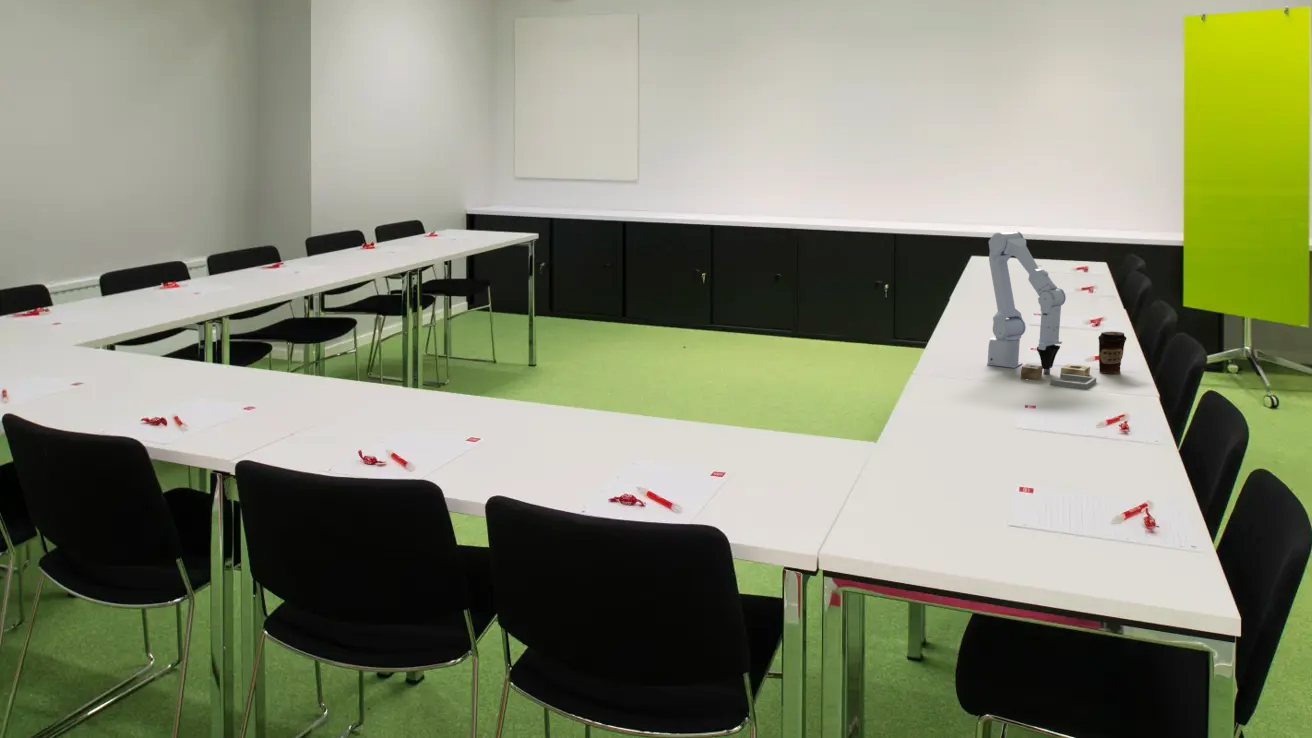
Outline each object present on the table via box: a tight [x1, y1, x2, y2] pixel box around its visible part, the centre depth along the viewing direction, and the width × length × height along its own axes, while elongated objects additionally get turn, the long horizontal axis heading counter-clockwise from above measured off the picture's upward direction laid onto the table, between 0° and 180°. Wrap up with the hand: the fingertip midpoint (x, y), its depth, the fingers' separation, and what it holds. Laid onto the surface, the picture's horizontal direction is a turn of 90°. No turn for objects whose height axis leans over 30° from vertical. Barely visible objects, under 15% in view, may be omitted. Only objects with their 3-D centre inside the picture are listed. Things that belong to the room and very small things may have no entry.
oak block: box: [1060, 363, 1091, 377], centre depth 348 cm, size 7×7×3 cm
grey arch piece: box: [1049, 373, 1098, 390], centre depth 337 cm, size 11×11×2 cm
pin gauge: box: [1042, 368, 1051, 375], centre depth 350 cm, size 2×2×7 cm
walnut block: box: [1020, 363, 1044, 382], centre depth 344 cm, size 5×5×4 cm
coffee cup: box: [1097, 331, 1127, 375], centre depth 350 cm, size 9×8×13 cm
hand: (1047, 368), depth 350 cm, fingers closed on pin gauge, 2 cm apart
